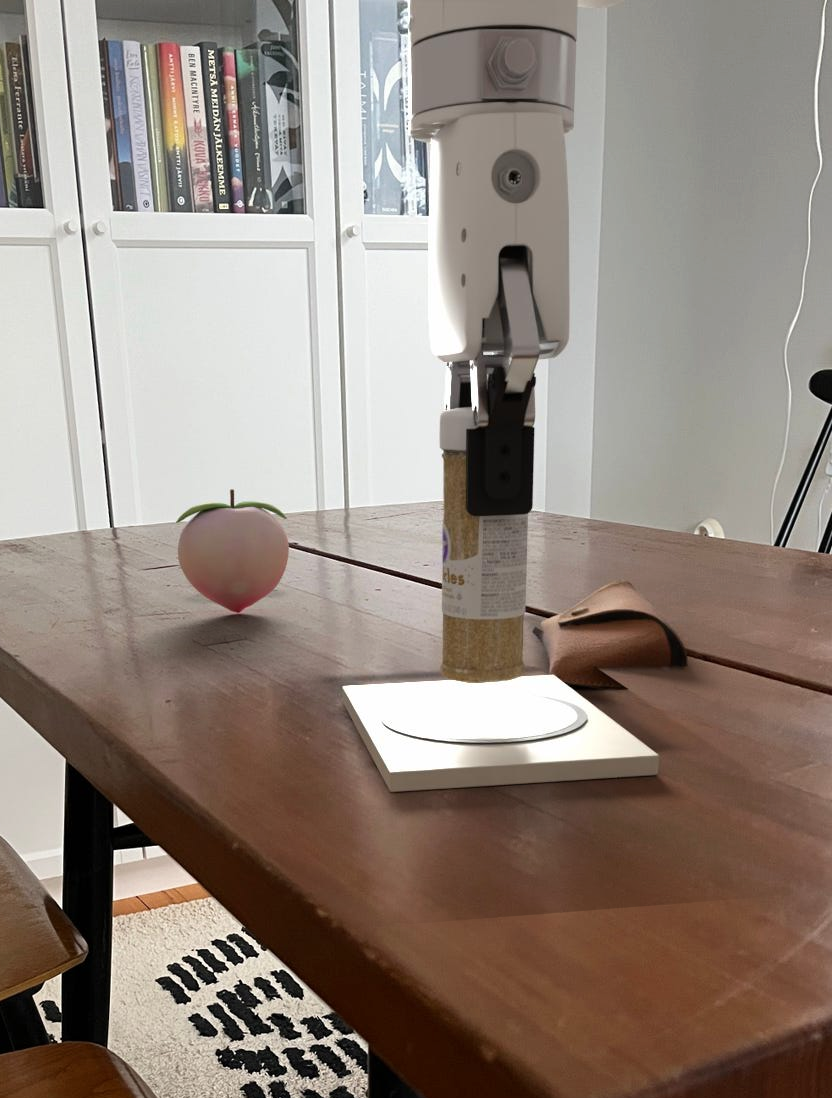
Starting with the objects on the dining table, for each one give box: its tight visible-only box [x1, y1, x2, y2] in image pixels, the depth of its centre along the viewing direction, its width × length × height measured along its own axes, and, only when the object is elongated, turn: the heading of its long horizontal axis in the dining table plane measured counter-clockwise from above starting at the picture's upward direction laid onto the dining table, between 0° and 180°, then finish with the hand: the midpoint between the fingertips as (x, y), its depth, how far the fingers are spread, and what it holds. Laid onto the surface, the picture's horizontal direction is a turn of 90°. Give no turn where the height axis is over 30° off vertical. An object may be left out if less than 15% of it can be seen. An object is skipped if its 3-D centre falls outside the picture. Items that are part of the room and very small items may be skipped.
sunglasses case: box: [532, 579, 689, 690], centre depth 84 cm, size 18×7×7 cm
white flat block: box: [341, 674, 660, 793], centre depth 68 cm, size 13×18×1 cm
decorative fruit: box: [176, 488, 290, 614], centre depth 104 cm, size 9×8×10 cm
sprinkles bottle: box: [438, 407, 529, 683], centre depth 64 cm, size 5×5×13 cm
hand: (486, 505), depth 64 cm, fingers closed on sprinkles bottle, 4 cm apart
